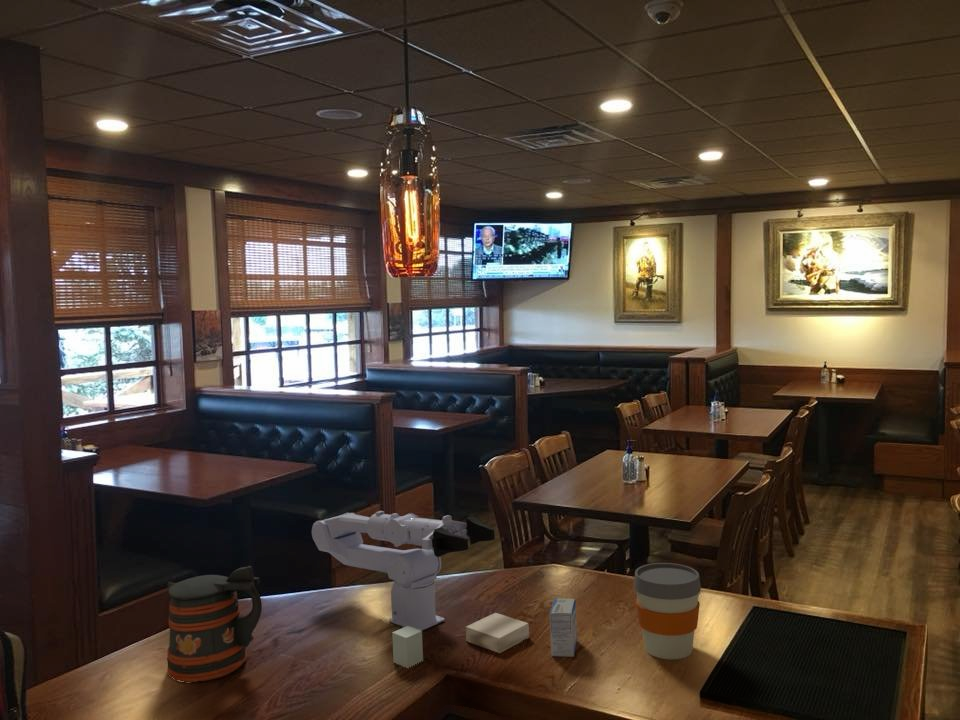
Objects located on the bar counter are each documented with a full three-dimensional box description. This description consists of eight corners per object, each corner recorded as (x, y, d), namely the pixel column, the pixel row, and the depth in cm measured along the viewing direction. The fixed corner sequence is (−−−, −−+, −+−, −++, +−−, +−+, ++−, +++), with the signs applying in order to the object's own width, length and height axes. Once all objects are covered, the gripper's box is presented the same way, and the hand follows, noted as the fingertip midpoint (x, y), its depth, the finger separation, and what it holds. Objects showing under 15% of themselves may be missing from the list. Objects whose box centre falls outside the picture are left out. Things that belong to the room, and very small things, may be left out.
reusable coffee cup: (706, 640, 157) (705, 566, 156) (695, 668, 145) (694, 588, 144) (643, 631, 162) (641, 559, 161) (628, 657, 151) (626, 580, 150)
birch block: (466, 641, 161) (465, 626, 161) (495, 626, 167) (495, 612, 167) (499, 653, 155) (499, 638, 154) (529, 637, 161) (528, 623, 161)
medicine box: (574, 658, 152) (572, 613, 151) (550, 656, 152) (549, 612, 152) (577, 640, 159) (576, 598, 159) (555, 639, 160) (553, 597, 159)
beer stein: (279, 648, 161) (273, 552, 159) (254, 683, 146) (247, 577, 145) (187, 649, 162) (180, 553, 160) (153, 684, 147) (146, 579, 146)
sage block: (393, 662, 152) (392, 632, 152) (409, 655, 155) (407, 625, 155) (407, 668, 150) (406, 637, 149) (423, 661, 153) (421, 630, 152)
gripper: (404, 522, 160) (452, 528, 151) (455, 506, 171) (502, 511, 162) (408, 557, 160) (456, 564, 151) (458, 539, 171) (506, 545, 162)
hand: (480, 539), depth 156 cm, fingers open, 7 cm apart
